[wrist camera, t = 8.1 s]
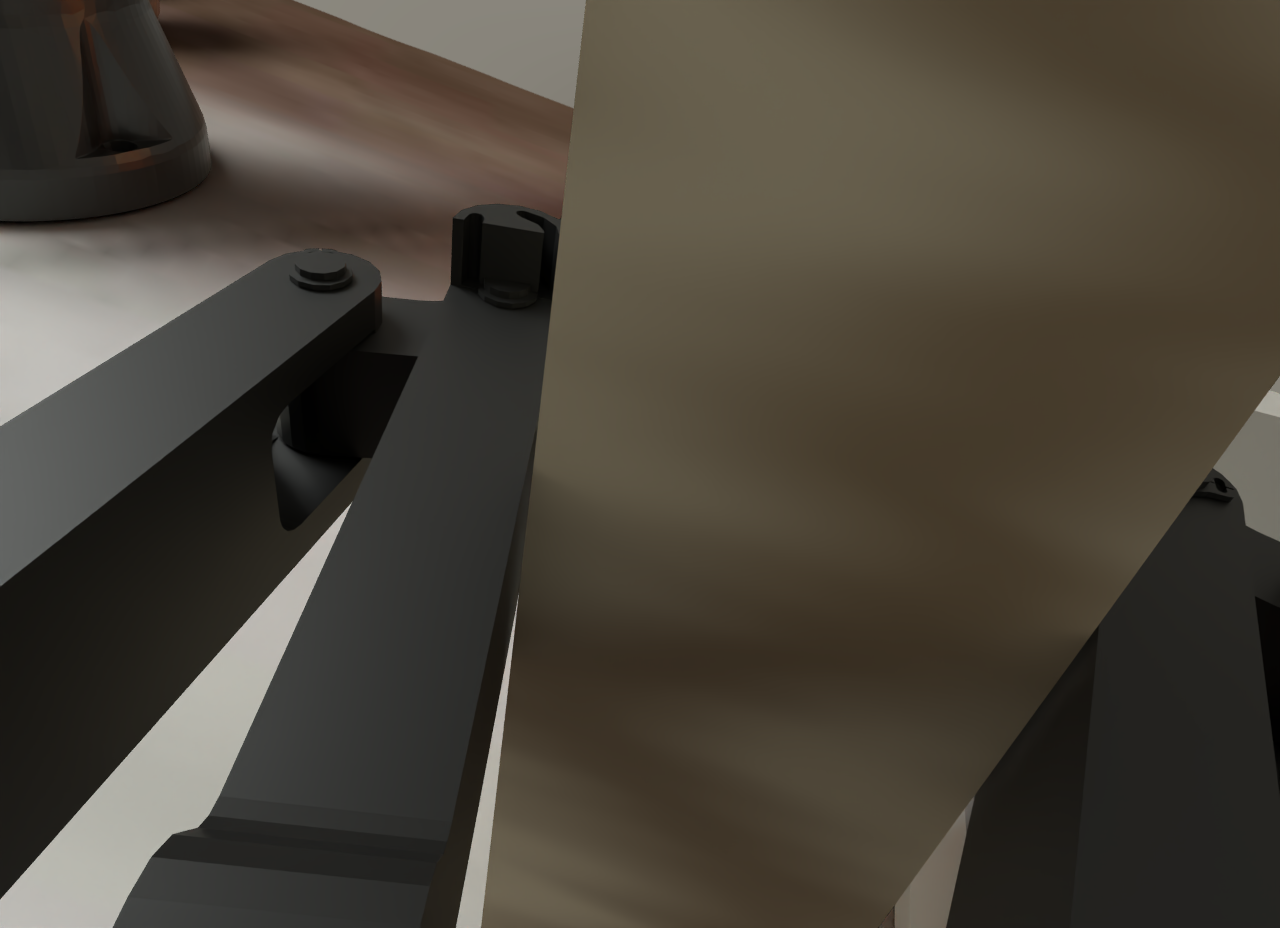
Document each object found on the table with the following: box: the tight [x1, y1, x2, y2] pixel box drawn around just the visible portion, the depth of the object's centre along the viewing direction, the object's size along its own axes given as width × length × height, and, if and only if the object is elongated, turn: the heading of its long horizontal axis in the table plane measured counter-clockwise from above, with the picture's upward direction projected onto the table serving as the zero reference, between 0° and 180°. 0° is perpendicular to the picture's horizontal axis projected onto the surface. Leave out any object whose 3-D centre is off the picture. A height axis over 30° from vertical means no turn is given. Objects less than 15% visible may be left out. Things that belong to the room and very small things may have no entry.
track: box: [895, 391, 1280, 928], centre depth 19 cm, size 16×11×9 cm
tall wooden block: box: [481, 0, 1280, 928], centre depth 12 cm, size 4×9×16 cm, turn 165°
